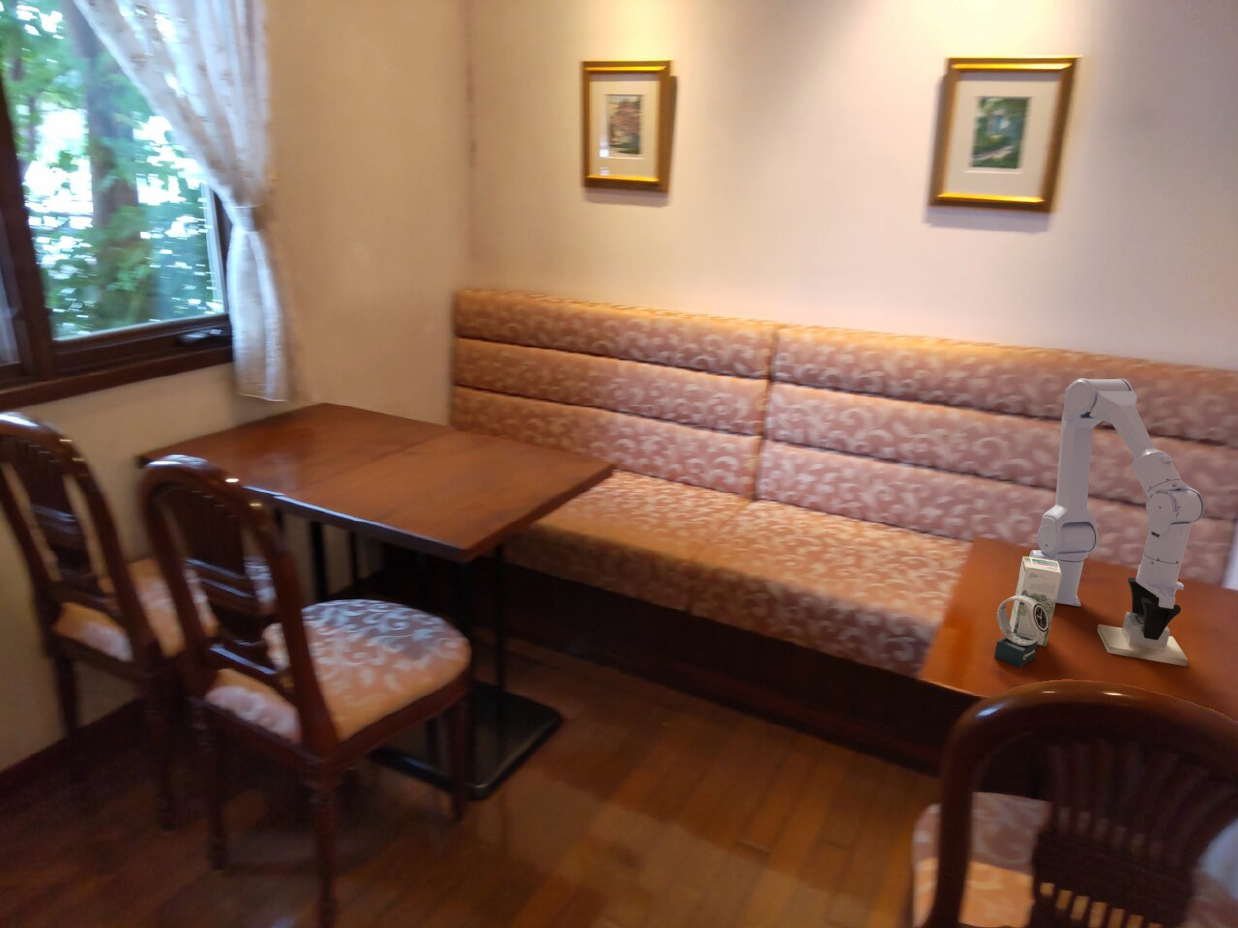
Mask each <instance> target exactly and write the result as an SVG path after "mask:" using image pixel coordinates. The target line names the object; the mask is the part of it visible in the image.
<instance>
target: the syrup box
mask: <svg viewBox="0 0 1238 928" xmlns="http://www.w3.org/2000/svg"><path fill="white" fill-rule="evenodd" d="M1061 576H1062V573H1061V571H1060V567H1059V564H1058V562H1057V561H1053V560H1046V559H1040V558H1033V557H1029V556H1026V555H1025V556H1024V555H1023V556H1022V560H1021V564H1020V569H1019V573H1018V579H1017V583H1016V588H1015V593H1014V596H1016V595H1023V596H1027V597H1030V598H1032V599H1034V600H1036V601H1037V602H1038V603H1040V604H1042V605H1043V606H1044V608H1045V609H1046V611H1047V614H1048V617H1049V629H1048V631H1047V632H1046V633H1045V635H1044V636H1043V637H1042V638H1041V639H1040V640H1038V641H1037V642H1038V643H1037V646H1041V647H1046V646H1047V642H1048V638H1049V634H1050V630H1051V624H1052V621H1053V616H1054V612H1055V607H1056V604H1057V603H1056V599H1057V594H1058V590H1059V585H1060V581H1061ZM1024 604H1025V603H1023V602H1020V601H1017V600H1013V602H1012V608H1011V612H1010V618H1009V623H1010V626H1011V628H1012V629H1011V631H1012V632H1014V633H1017V634H1019V635H1022V636H1024V637H1027V638H1029V639H1032V640H1035V639H1036V638H1035V635H1034V631H1032V629H1031V628H1030V626H1029V624H1028V622H1027V618H1026V609H1025V607H1024Z"/></svg>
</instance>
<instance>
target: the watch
mask: <svg viewBox="0 0 1238 928" xmlns="http://www.w3.org/2000/svg"><path fill="white" fill-rule="evenodd" d="M1014 600H1017V601H1020V602H1023V603H1025V604H1024V607H1025V609H1026V618H1027V622H1028V624H1029V626H1030V628H1031V629H1032V631H1034V635H1035V638H1036V639H1035V640H1032V639H1029V638H1027V637H1024V636H1022V635H1019V634H1017V633H1014V632H1012V631H1011V629H1012V628H1011V626H1010V623H1009V622H1010V620H1009V618H1008V617H1009V616H1008V611H1007V604H1008V603H1009V602H1012V601H1014ZM996 618H997V619H996V620H997V624H998V626H999V629H1000V631H1001V634H1002V635H1004V636H1003V637H1001V638H1000V639H998V640H996V646H995V651H994V656H993V658H994V659H996V660H997V659H998V660H1000V661H1002V662H1004V663H1007V664H1009V665H1011V666H1013V667H1015V668H1018V669H1020V668H1021V667H1023V666H1025V665H1026V664H1028V663H1030V662H1031V661H1033V660H1034V659H1035V656H1036V653H1037V652H1036V651H1037V647H1038V645H1037V643H1038V642H1037V641H1038V640H1040V639H1041V638H1042V637H1043V636H1044V635H1045V633H1046V632H1047V631H1048V629H1049V617H1048V614H1047V611H1046V609H1045V608H1044V606H1043V605H1042V604H1040V603H1038V602H1037V601H1036V600H1034V599H1032V598H1030V597H1027V596H1023V595H1016V596H1015V595H1013V596H1011V597H1009V598H1007V599H1005V600H1003V601H1002V602H1000V604H999V606H998V608H997V612H996Z"/></svg>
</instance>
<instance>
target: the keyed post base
mask: <svg viewBox="0 0 1238 928" xmlns="http://www.w3.org/2000/svg"><path fill="white" fill-rule="evenodd" d="M1137 622H1138V623H1139V624H1144V618H1142V617H1137ZM1096 631H1097V633H1098V635H1099V637H1100V639H1101V640H1102V643H1103V645H1104V648H1105V649H1106V651H1107V653H1108V654H1113V655H1114V654H1115V655H1118V656H1124V657H1130V658H1137V659H1143V660H1147V661H1148V660H1149V661H1154V662H1158V663H1159V662H1160V663H1164V664H1165V663H1166V664H1172V665H1177V666H1181V667H1182V666H1183V667H1187V666H1188V662H1189V658H1188V657H1187V656H1186V654H1185V653H1184V651H1183V650H1182V648H1181V647H1180V646H1179V644H1178V642H1177V641H1176V639H1175V638H1174V637H1173V636H1172V635H1169V638H1168V642H1167V646H1166V650H1165V652H1161V651H1156V650H1150V649H1144V648H1138V647H1133V646H1128V644H1127V642H1126V640H1125V638H1124V636H1123V634H1122V632H1121V631H1122V627H1118V626H1111V625H1106V624H1101V623H1099V624H1098V625H1097V630H1096Z"/></svg>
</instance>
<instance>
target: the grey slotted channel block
mask: <svg viewBox="0 0 1238 928" xmlns="http://www.w3.org/2000/svg"><path fill="white" fill-rule="evenodd" d="M1137 617H1142V618H1144V614H1138V613H1132V611H1131V612H1130V611H1126V612H1125V614H1124V619H1123V624H1122V627H1121V628H1122V631H1121V632H1122V634H1123V636H1124V638H1125V640H1126V642H1127V644H1128V646H1133V647H1138V648H1144V649H1150V650H1156V651H1161V652H1165V650H1166V646H1167V642H1168V638H1169V636H1170V633H1171V631H1170V630H1171V629H1170V628H1169V627H1168V626H1166V628H1165V629H1164V631H1163V633H1162V635H1161V636H1160V638H1159V639H1158V640H1153V639H1147V638H1144V634H1143V627H1144V624H1139V623H1138V622H1137Z"/></svg>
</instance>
